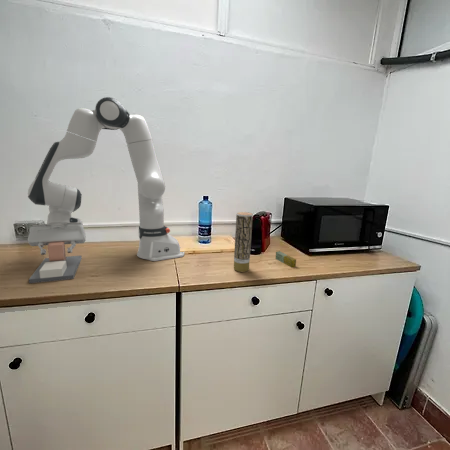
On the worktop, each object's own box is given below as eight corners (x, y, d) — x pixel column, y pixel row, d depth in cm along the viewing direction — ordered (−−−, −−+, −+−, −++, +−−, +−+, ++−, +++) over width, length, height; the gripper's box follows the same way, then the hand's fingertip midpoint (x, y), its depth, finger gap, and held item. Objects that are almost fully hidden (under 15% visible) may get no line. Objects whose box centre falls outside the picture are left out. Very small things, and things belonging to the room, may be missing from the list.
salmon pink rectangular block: (66, 262, 110) (64, 241, 108) (64, 265, 107) (62, 244, 105) (52, 263, 109) (50, 242, 107) (50, 267, 105) (47, 245, 103)
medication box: (274, 259, 131) (275, 251, 130) (279, 258, 132) (279, 250, 131) (291, 268, 121) (292, 260, 120) (296, 267, 122) (296, 259, 121)
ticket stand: (81, 258, 120) (80, 248, 119) (73, 278, 100) (72, 267, 99) (45, 261, 115) (44, 251, 114) (29, 283, 95) (27, 271, 94)
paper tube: (248, 273, 112) (252, 215, 106) (232, 271, 113) (235, 214, 108) (249, 267, 119) (253, 212, 113) (234, 265, 120) (237, 211, 114)
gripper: (27, 220, 106) (22, 251, 100) (84, 219, 114) (83, 247, 107) (32, 228, 112) (28, 258, 105) (86, 226, 119) (85, 254, 112)
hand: (56, 253), depth 106 cm, fingers open, 8 cm apart
